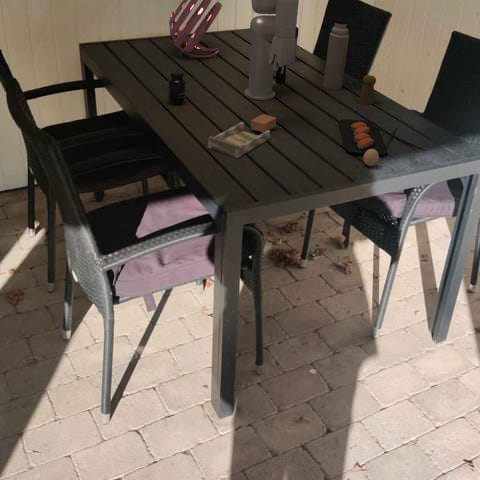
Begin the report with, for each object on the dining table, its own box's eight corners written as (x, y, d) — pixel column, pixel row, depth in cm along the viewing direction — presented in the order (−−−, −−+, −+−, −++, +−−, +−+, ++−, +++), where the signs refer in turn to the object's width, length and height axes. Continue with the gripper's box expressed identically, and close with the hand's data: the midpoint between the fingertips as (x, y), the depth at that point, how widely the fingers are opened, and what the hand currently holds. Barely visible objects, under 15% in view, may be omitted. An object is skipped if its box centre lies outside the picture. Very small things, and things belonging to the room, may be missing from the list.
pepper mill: (374, 101, 273) (379, 75, 267) (371, 106, 268) (375, 79, 262) (360, 98, 275) (364, 72, 269) (356, 103, 270) (360, 76, 264)
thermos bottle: (344, 86, 286) (354, 20, 271) (336, 91, 280) (346, 24, 265) (327, 82, 289) (336, 16, 274) (319, 87, 283) (328, 20, 268)
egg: (380, 166, 221) (383, 150, 218) (369, 170, 219) (372, 153, 216) (369, 160, 225) (372, 144, 222) (358, 164, 222) (361, 148, 219)
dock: (241, 131, 241) (242, 119, 238) (269, 140, 236) (270, 128, 233) (208, 149, 226) (208, 137, 224) (237, 159, 221) (237, 147, 219)
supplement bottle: (182, 106, 256) (183, 76, 250) (165, 104, 257) (165, 74, 251) (187, 100, 262) (187, 70, 255) (170, 98, 263) (170, 68, 256)
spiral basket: (247, 9, 309) (199, -29, 301) (232, 40, 290) (181, 0, 282) (215, 49, 328) (169, 14, 320) (199, 80, 309) (151, 44, 301)
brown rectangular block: (261, 124, 246) (262, 113, 244) (275, 128, 243) (276, 117, 241) (250, 130, 240) (250, 120, 238) (264, 135, 237) (264, 124, 235)
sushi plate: (337, 123, 252) (338, 113, 250) (415, 128, 252) (418, 119, 250) (345, 156, 228) (346, 146, 226) (432, 162, 228) (434, 152, 226)
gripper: (286, 25, 237) (281, 75, 247) (264, 34, 227) (260, 86, 237) (304, 30, 234) (299, 80, 244) (283, 38, 223) (278, 91, 233)
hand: (280, 83), depth 240 cm, fingers closed
